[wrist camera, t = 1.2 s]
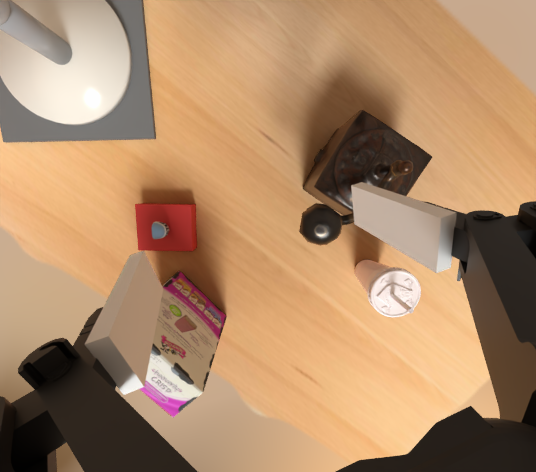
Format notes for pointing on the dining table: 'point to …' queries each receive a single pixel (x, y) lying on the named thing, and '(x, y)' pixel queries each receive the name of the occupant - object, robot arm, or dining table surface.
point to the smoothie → (388, 288)
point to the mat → (113, 125)
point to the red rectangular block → (166, 227)
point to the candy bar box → (182, 345)
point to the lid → (64, 58)
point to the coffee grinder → (357, 173)
